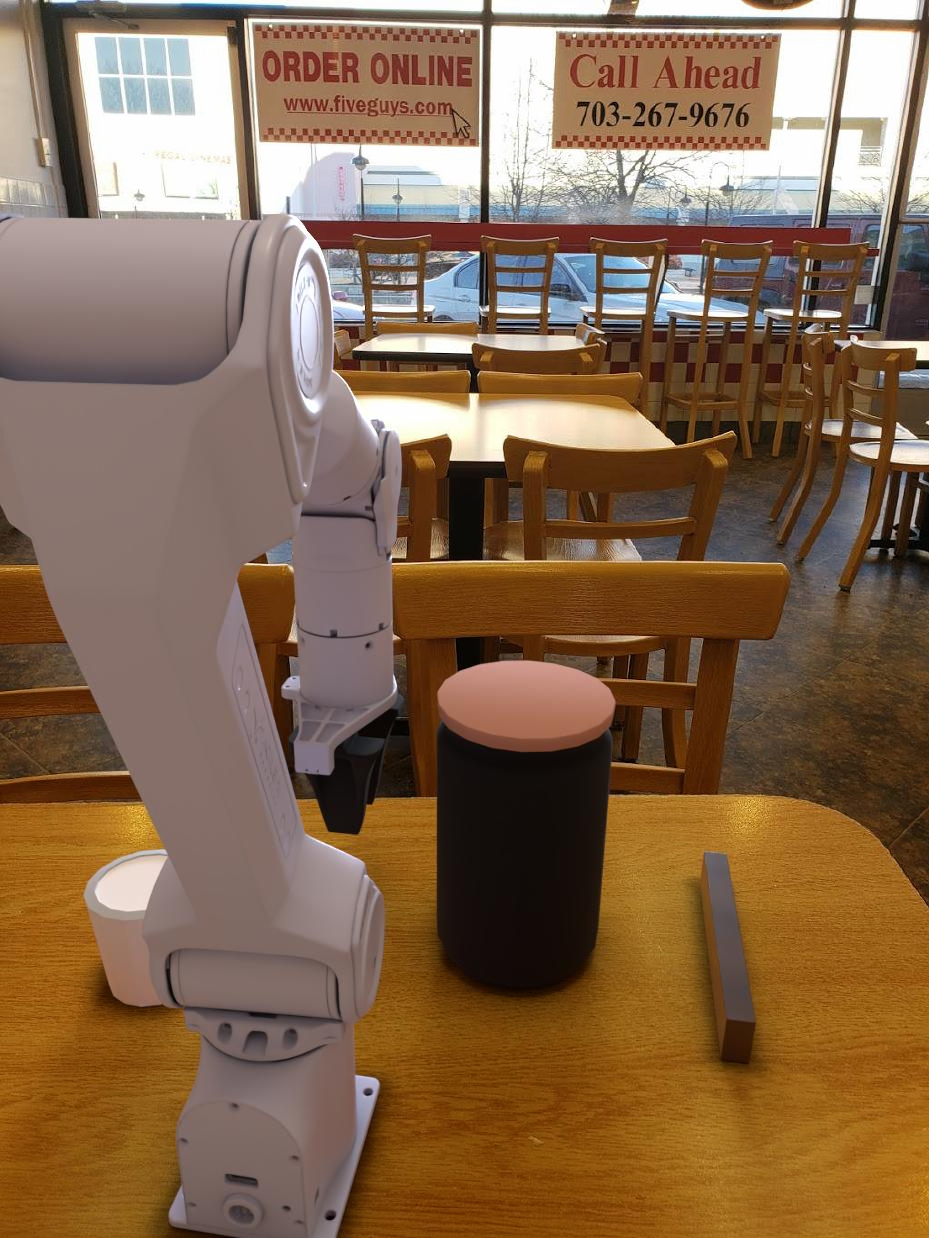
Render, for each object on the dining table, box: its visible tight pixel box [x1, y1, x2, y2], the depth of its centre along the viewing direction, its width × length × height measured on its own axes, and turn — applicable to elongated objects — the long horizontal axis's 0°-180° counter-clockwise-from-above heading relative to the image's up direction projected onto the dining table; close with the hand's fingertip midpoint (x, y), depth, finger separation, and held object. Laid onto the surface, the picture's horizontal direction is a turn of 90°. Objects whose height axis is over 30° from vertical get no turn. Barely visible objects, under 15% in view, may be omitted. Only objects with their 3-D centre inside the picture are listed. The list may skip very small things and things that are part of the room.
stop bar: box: [699, 851, 757, 1064], centre depth 60 cm, size 16×2×3 cm, turn 171°
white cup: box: [83, 848, 168, 1008], centre depth 58 cm, size 7×7×7 cm
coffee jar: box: [436, 660, 617, 991], centre depth 59 cm, size 11×11×18 cm
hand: (351, 815), depth 61 cm, fingers open, 3 cm apart
